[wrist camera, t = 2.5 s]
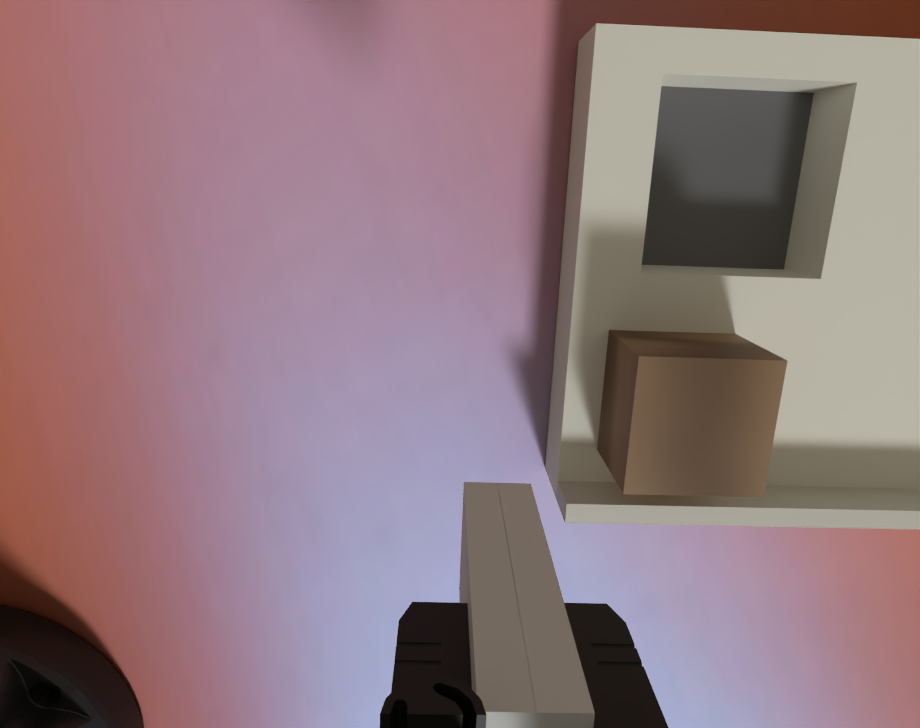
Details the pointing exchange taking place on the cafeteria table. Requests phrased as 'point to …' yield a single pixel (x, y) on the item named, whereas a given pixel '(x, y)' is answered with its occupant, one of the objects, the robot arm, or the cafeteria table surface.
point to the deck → (749, 257)
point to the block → (689, 413)
